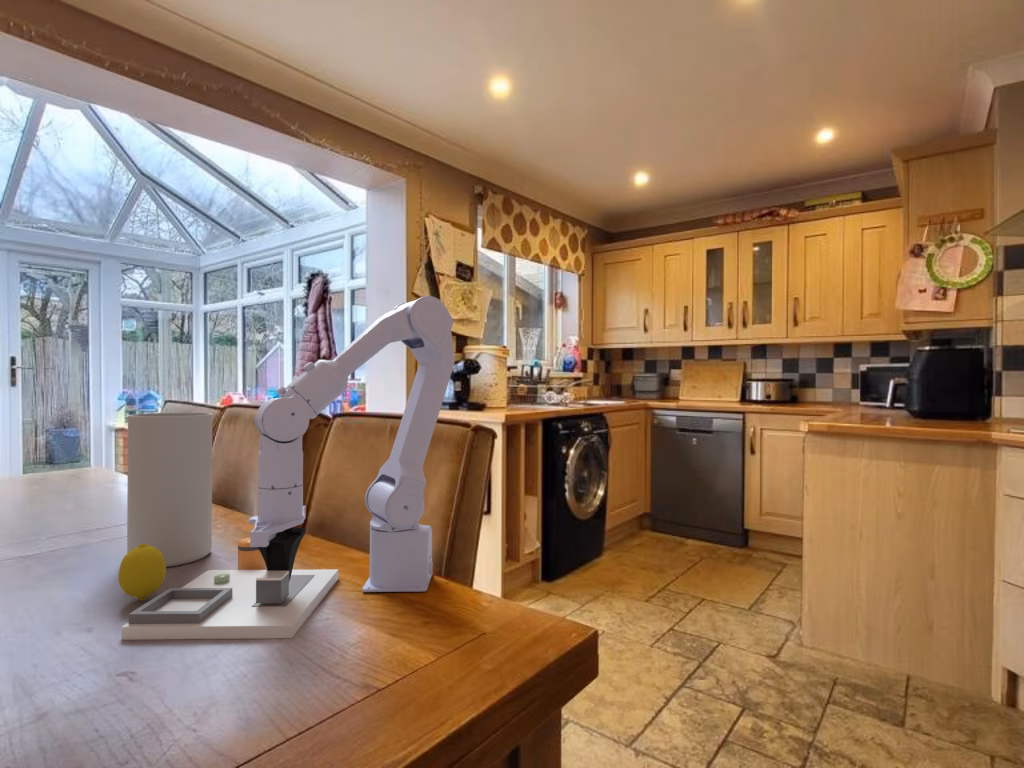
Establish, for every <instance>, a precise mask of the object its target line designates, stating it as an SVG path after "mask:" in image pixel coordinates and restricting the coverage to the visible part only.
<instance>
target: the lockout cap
mask: <svg viewBox="0 0 1024 768" xmlns="http://www.w3.org/2000/svg"><path fill="white" fill-rule="evenodd" d="M237 570H267V568H266V564H265V561H264V559H263V556H262V554H261V552H260V551H259V549H258V547H250V536H249V537H245V538H241V539H239V540H238V541H237Z"/></svg>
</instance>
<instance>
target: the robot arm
mask: <svg viewBox="0 0 1024 768" xmlns="http://www.w3.org/2000/svg"><path fill="white" fill-rule="evenodd" d="M454 322H455V321H454V319H453V317H452V315H451V314H450V312H449V310H448V308H447V306H446V305H445V303H444V302H443V301H441V299H439V298H437V297H435V296H432V295H424V296H422V297H419V298H417V299H416V300H415V299H414V300H412V301H408V302H402V303H399V304H397V305H395V306H394V308H393V309H392V310H391V311H388V312H386V313H384V314H383V315H381V316H380V317H379V318H377V319H376V320H375V321H373V323H372V324H370V325H369V326H368V327H367V328H366V329H365V330H364V331H362V333H360V334H359V335H358V336H357V337H356V338H355V339H354V340H353V341H352V342H351V343H350V344H349V345H347V346H346V347H345V348H344V349H343V350H342V351H341V352H340V353H339V354H337V355H336V357H334V358H333V359H332V360H329V359H318V360H317V361H316V362H312V361H310V362H308V363H306V364H305V365H304V366H303V367H302V369H303V370H304V372H302V373H301V374H300V375H299V376H297V378H295V379H294V380H293V381H292V382H290V383H289V384H288V385H287V386H286V387H285V386H280V387H278V389H276V393H277V394H278V396H279V397H275V398H270V399H267V400H266V401H265V402H263V403H262V404H261V405H260V406H259V408H258V409H257V412H256V414H255V417H254V418H253V421H254V422H253V423H254V426H255V428H256V430H257V431H258V433H260V434H259V439H258V446H259V451H258V454H257V515H253V516H252V517H249V519H248V524H249V525H254V527H253V529H252V530H251V531H250V532H249V537H250V547H258V549H259V551H260V552H261V554H262V556H263V559H264V561H265V564H266V570H267V571H289V581H290V578H291V574H292V570H294V569H293V568H294V564H295V561H296V556H297V553H298V550H299V546H300V545H301V543H302V541H303V539H304V537H305V535H306V528H305V527H297V526H300V525H302V524H303V523H304V522H305V519H306V518H307V517H306V516H307V515H306V511H307V510H306V507H307V506H306V505H304V451H303V435H304V434H306V432H307V430H308V428H309V424H310V420H311V419H312V420H313V419H315V418H316V417H317V416H319V414H321V412H323V411H324V410H325V409H326V408H327V407H329V406H330V405H331V404H332V403H333V402H334V401H336V400H337V399H338V398H339V397H340V396H341V395H342V394H343V393H345V391H347V389H348V383H349V382H348V381H349V376H351V374H353V373H354V372H355V371H357V370H358V369H359V368H360V367H362V366H363V365H364V364H366V362H368V361H369V360H371V358H373V357H374V356H375V355H377V354H378V353H379V352H381V350H382V349H384V348H386V346H388V345H390V344H391V343H396V342H401V343H402V344H404V345H405V346H406V347H407V348H408V349H409V350H410V351H411V353H412V355H413V357H414V358H415V360H416V362H417V363H418V367H417V369H416V370H417V371H416V373H415V376H414V380H413V382H412V386H411V389H410V392H409V395H408V398H407V402H406V405H405V409H404V411H403V415H402V417H401V420H400V424H399V427H398V430H397V433H396V436H395V440H394V441H393V442H394V443H393V446H392V447H391V452H390V455H389V458H388V459H387V461H385V463H383V465H382V466H381V467H380V468H379V470H378V474H377V476H376V478H375V479H374V481H373V482H371V484H370V485H369V486H368V488H367V489H366V492H365V496H364V499H365V500H364V502H365V503H364V504H365V506H366V508H367V510H368V512H370V513H371V514H372V515H371V516H372V517H371V520H370V521H369V577H368V579H367V580H366V582H365V583H364V585H363V586H362V588H361V591H362V592H364V593H370V592H371V593H372V592H373V593H377V592H379V593H382V592H383V593H385V592H387V593H388V592H389V593H392V592H394V593H396V592H397V593H398V592H399V593H401V592H402V593H404V592H405V593H406V592H417V593H418V592H426V591H428V588H429V585H430V582H431V579H432V576H433V567H434V565H433V527H432V526H431V525H428V524H427V525H425V524H420V523H419V521H420V520H421V518H422V517H423V515H424V511H425V507H426V503H425V489H426V486H427V479H426V476H425V474H424V464H425V460H426V458H427V457H426V456H427V454H428V451H429V447H430V445H431V440H432V438H433V434H434V431H435V427H436V425H437V421H438V418H439V416H440V412H441V408H442V405H443V402H444V398H445V395H446V392H447V388H448V385H449V382H450V379H451V375H452V372H453V370H454V366H455V360H456V358H455V357H456V355H455V350H454V349H455V348H454V344H453V335H452V328H453V325H454Z"/></svg>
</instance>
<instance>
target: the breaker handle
mask: <svg viewBox="0 0 1024 768" xmlns="http://www.w3.org/2000/svg"><path fill="white" fill-rule="evenodd" d="M288 595H289V571H264V572H263V573H262V574H260V575H259V576H258V577H257V578H256V603H282V602H283V601H284V600H285V598H286V597H287V596H288Z"/></svg>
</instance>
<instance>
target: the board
mask: <svg viewBox="0 0 1024 768" xmlns="http://www.w3.org/2000/svg"><path fill="white" fill-rule="evenodd" d="M264 571H267V569H266V570H238V569H208V570H206V571H205V572H203V573H202V574H200V575H198V576H197V577H195V578H193V579H192V580H191V581H189V582H188V583H187V584H185V585H184V586H182V587H172V588H171V587H169V588H167V589H166V590H164V591H163V592H161V593H160V594H157V596H155V597H154V598H152V599H150V600H149V601H148V602H146V603H144V604H143V605H141V606H139V607H137V608H136V609H135V610H133V611H131V612H130V613H128V622H126V623H125V624H124V625H122V626H121V641H122V640H126V641H127V640H128V641H130V640H133V641H134V640H143V641H145V640H216V639H217V640H219V639H220V640H223V639H225V640H230V639H232V640H233V639H237V640H238V639H239V640H241V639H242V640H244V639H292V638H294V636H295V634H297V632H298V631H299V630H300V628H301V627H302V626H303V625H304V623H305V622H306V621H307V619H308V618H309V617H310V615H311V614H312V613H313V612H314V610H315V609H316V608H317V607H318V605H319V604H320V603H321V601H322V600H323V599H324V598H325V596H327V594H328V593H329V591H330V590H331V589H332V588H333V586H334V585H335V584H336V582H337V581H338V580H339V569H336V568H335V569H334V568H332V569H327V568H326V569H322V568H321V569H292V574H291V578H290V581H289V595H288V596H287V597H286V598H285V600H284V601H283V602H282V603H256V578H257V577H258V576H259V575H260V574H262V573H263V572H264Z"/></svg>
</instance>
